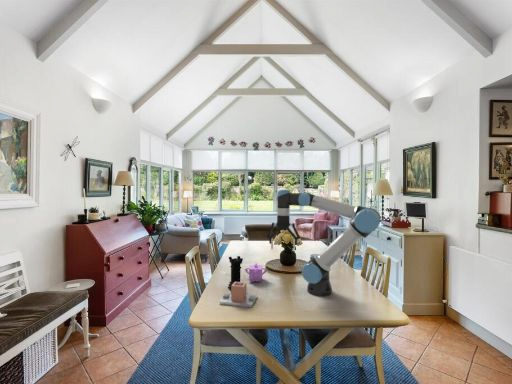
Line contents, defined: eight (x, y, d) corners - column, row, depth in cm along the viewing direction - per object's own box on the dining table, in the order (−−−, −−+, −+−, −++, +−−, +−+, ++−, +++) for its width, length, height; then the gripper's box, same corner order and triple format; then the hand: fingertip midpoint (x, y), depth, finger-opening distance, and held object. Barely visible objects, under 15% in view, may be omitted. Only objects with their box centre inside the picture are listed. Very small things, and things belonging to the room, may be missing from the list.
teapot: (270, 281, 193) (270, 265, 193) (255, 285, 185) (255, 269, 185) (256, 275, 205) (256, 261, 205) (241, 279, 197) (241, 264, 197)
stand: (256, 297, 165) (257, 281, 165) (251, 307, 152) (251, 289, 151) (227, 294, 169) (227, 279, 169) (219, 304, 156) (219, 287, 155)
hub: (246, 296, 163) (246, 282, 163) (243, 301, 156) (243, 286, 156) (234, 295, 165) (234, 281, 164) (231, 299, 158) (231, 285, 158)
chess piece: (227, 287, 181) (227, 256, 180) (239, 286, 184) (239, 255, 183) (231, 292, 173) (231, 259, 173) (243, 290, 176) (243, 258, 176)
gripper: (304, 214, 172) (304, 249, 173) (264, 213, 177) (264, 247, 178) (303, 216, 165) (303, 252, 165) (262, 214, 170) (261, 249, 171)
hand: (283, 249), depth 172 cm, fingers open, 13 cm apart
